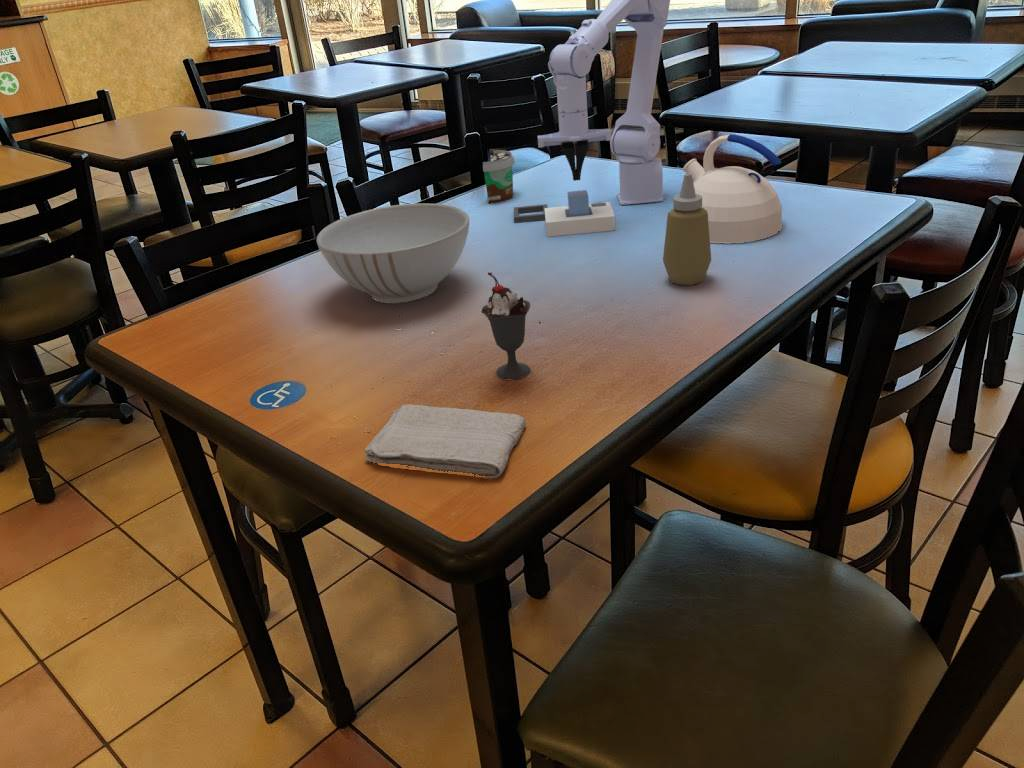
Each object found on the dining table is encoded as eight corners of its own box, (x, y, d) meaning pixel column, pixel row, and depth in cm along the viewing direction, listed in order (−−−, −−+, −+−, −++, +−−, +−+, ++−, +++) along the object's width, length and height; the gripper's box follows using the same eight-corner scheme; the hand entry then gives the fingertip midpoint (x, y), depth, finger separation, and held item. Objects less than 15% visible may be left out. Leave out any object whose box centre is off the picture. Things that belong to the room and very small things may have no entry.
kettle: (711, 206, 168) (714, 119, 160) (802, 220, 155) (810, 127, 146) (654, 233, 157) (654, 141, 148) (747, 252, 143) (752, 152, 134)
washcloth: (400, 418, 105) (396, 398, 103) (529, 427, 99) (527, 406, 98) (361, 470, 95) (356, 449, 93) (503, 483, 90) (500, 461, 88)
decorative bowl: (356, 335, 128) (341, 266, 122) (314, 287, 149) (299, 225, 143) (502, 293, 137) (494, 226, 131) (442, 253, 159) (433, 194, 153)
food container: (512, 204, 183) (508, 161, 178) (487, 205, 185) (482, 162, 180) (522, 189, 194) (518, 148, 189) (498, 190, 195) (493, 149, 190)
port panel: (610, 215, 169) (609, 201, 167) (615, 230, 160) (614, 215, 159) (545, 221, 170) (544, 207, 168) (547, 236, 161) (545, 221, 159)
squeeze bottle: (713, 271, 136) (716, 167, 128) (707, 289, 130) (710, 182, 121) (666, 269, 139) (666, 168, 130) (659, 287, 133) (658, 182, 124)
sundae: (488, 364, 114) (475, 267, 107) (533, 358, 115) (524, 261, 107) (491, 386, 109) (478, 285, 101) (539, 379, 109) (529, 279, 101)
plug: (588, 222, 167) (586, 189, 163) (589, 228, 163) (588, 195, 160) (569, 224, 167) (567, 191, 163) (570, 230, 163) (568, 197, 160)
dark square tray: (547, 209, 177) (547, 204, 177) (548, 219, 171) (548, 214, 170) (514, 212, 178) (513, 207, 177) (514, 222, 171) (513, 217, 170)
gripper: (536, 117, 150) (541, 187, 157) (611, 110, 150) (614, 180, 156) (535, 111, 156) (540, 178, 163) (608, 103, 156) (610, 171, 162)
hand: (576, 179), depth 160 cm, fingers closed
